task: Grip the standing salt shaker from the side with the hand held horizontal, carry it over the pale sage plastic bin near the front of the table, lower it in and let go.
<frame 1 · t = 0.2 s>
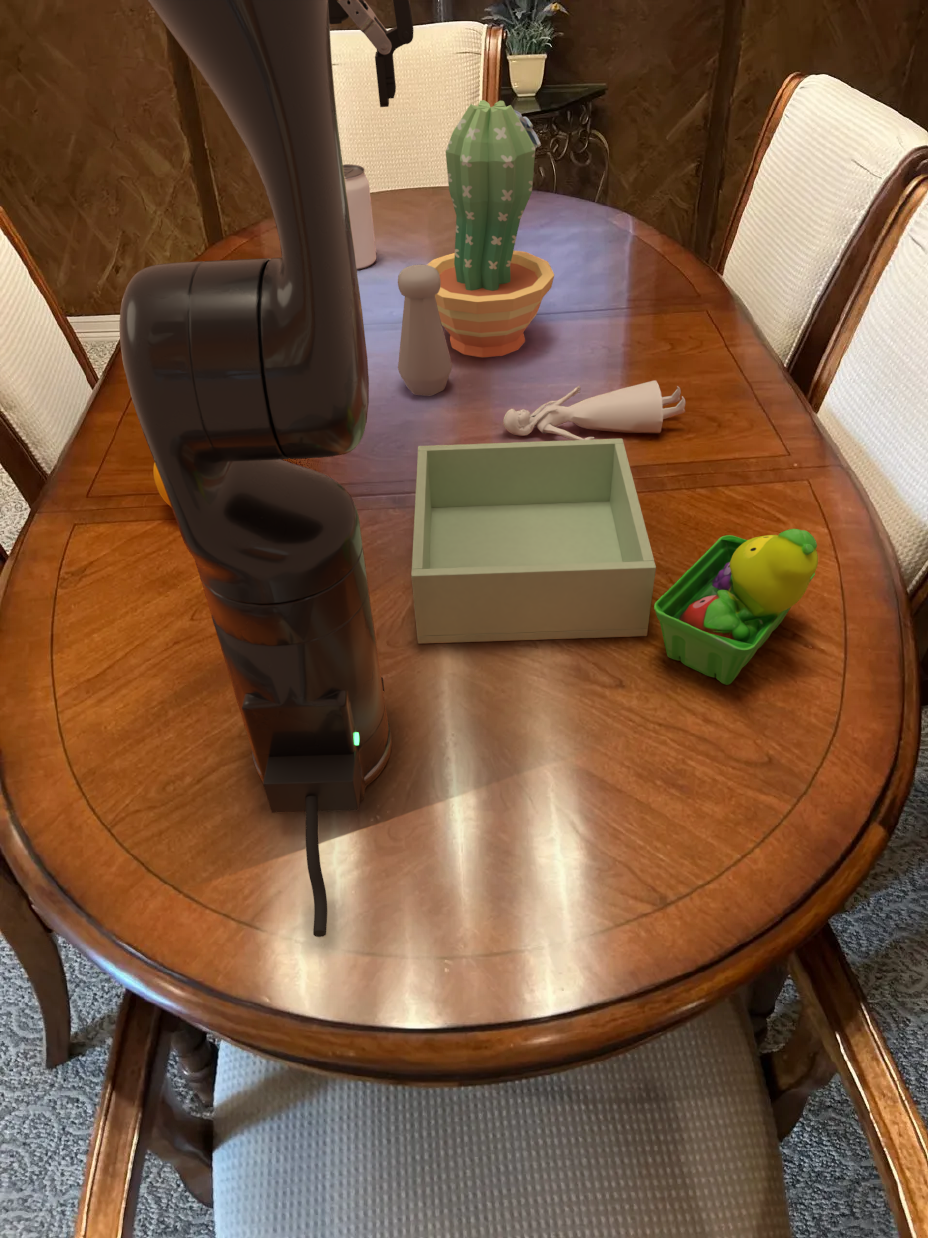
hand: (334, 108, 77), 29 cm above the table, tool pointing down, fingers open, 8 cm apart
apple: (208, 505, 86), on the table
woman figurine: (591, 429, 93), on the table
fruit basket: (731, 643, 69), on the table
can: (354, 263, 128), on the table
potted cactus: (487, 341, 109), on the table
bin: (525, 567, 77), on the table
salt shaker: (426, 388, 101), on the table
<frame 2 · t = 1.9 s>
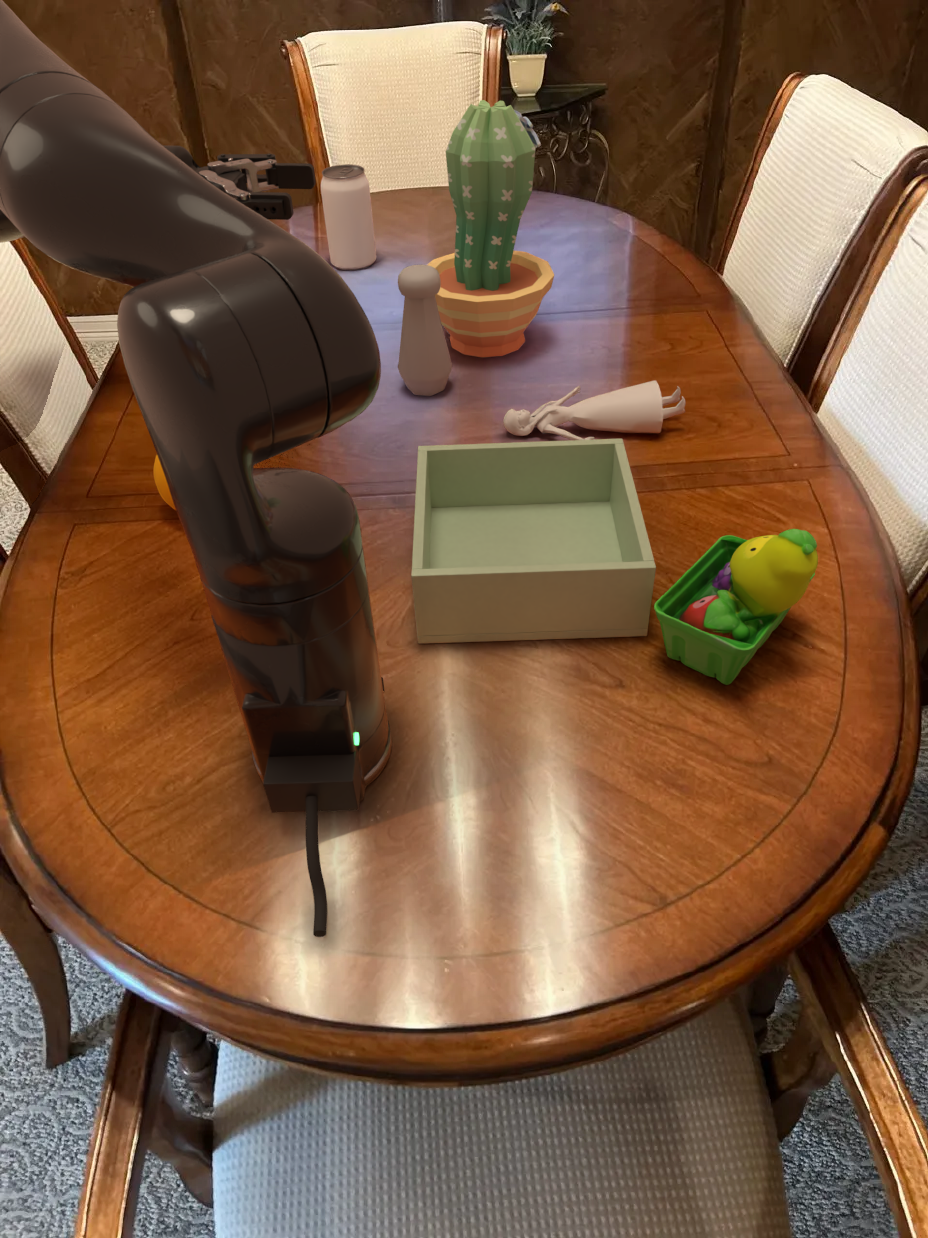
hand: (303, 190, 88), 20 cm above the table, tool horizontal, fingers open, 8 cm apart
nothing on the table moved.
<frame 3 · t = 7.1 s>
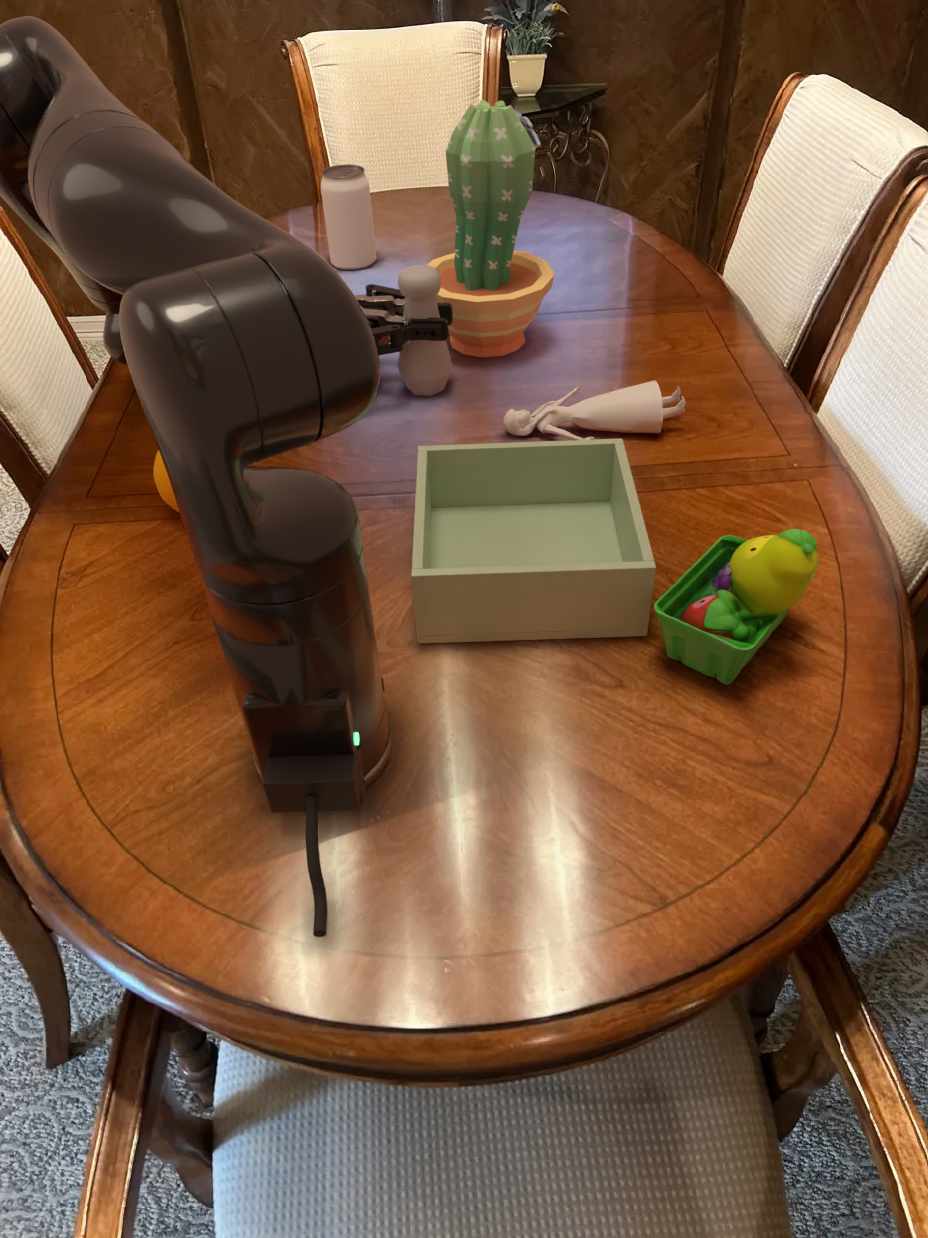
hand: (449, 321, 95), 8 cm above the table, tool horizontal, fingers closed on salt shaker, 3 cm apart
salt shaker: (426, 388, 101), on the table, touching gripper
everything else where it was.
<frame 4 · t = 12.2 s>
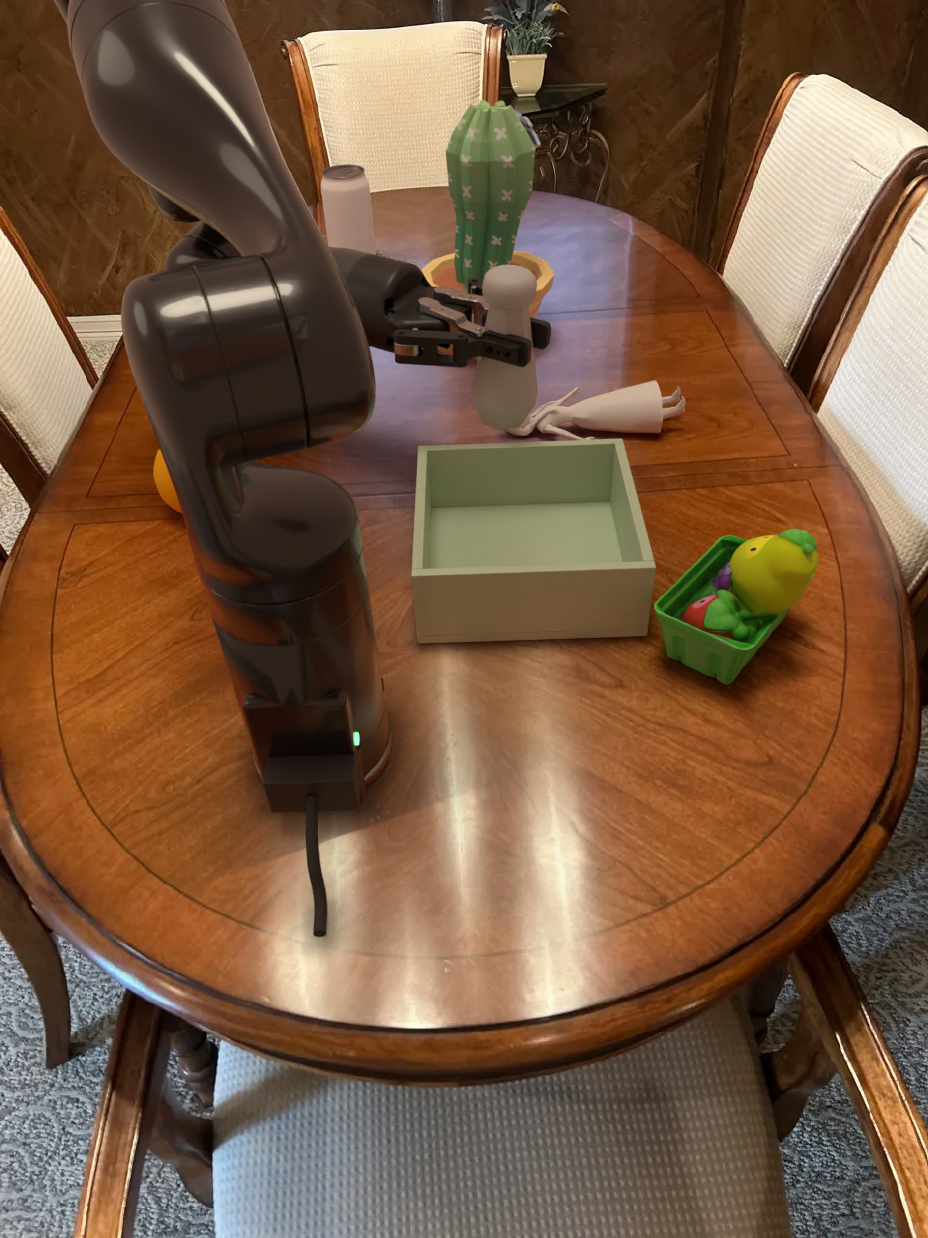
hand: (538, 344, 74), 15 cm above the table, tool horizontal, fingers closed on salt shaker, 3 cm apart
salt shaker: (502, 419, 80), point 7 cm above the table, touching gripper
everything else where it was.
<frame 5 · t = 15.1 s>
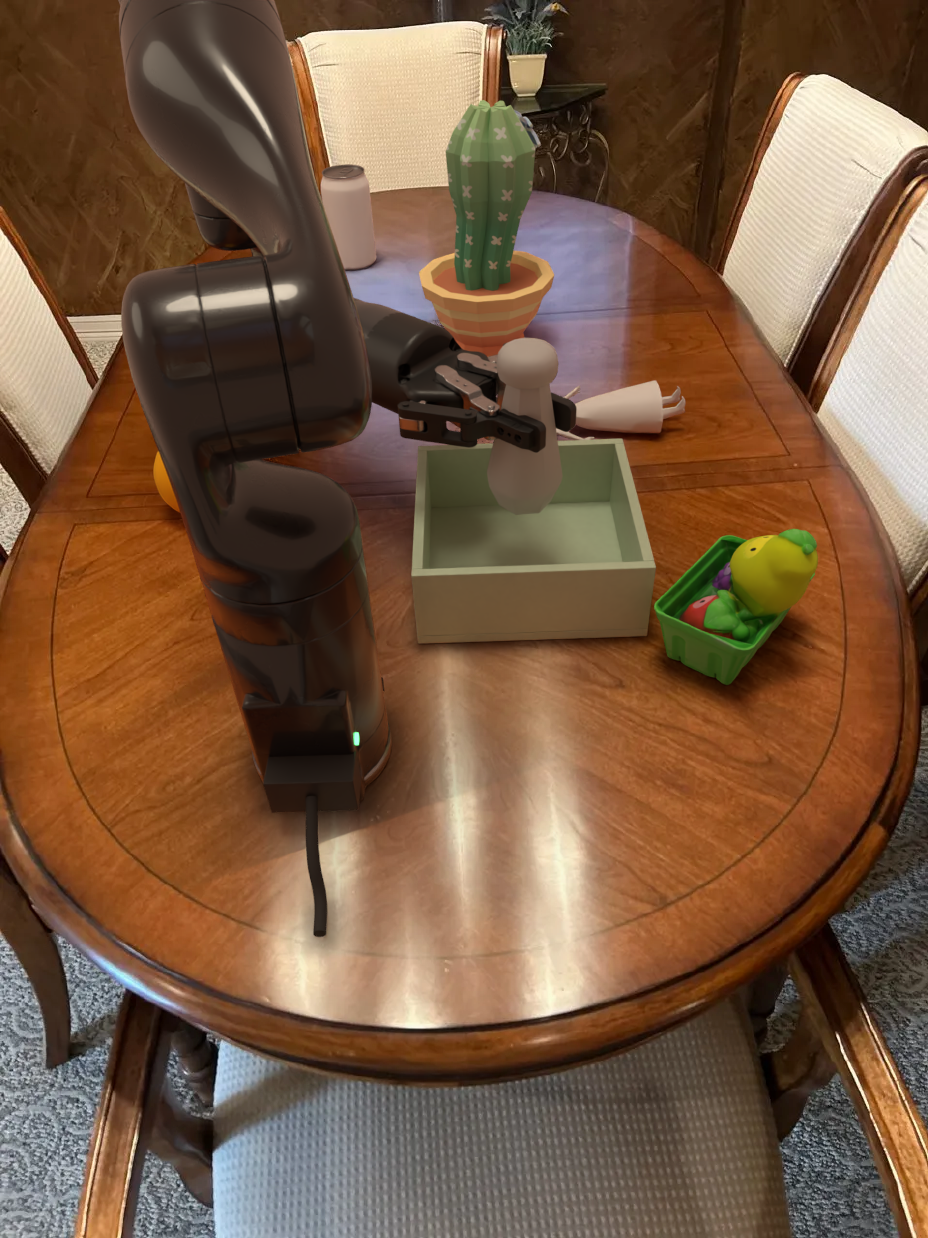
hand: (557, 428, 66), 14 cm above the table, tool horizontal, fingers closed on salt shaker, 3 cm apart
salt shaker: (523, 502, 72), point 7 cm above the table, touching gripper
everything else where it was.
when the fingers open (8 cm above the table, at t = 17.2 s): salt shaker stays where it is, resting on bin.
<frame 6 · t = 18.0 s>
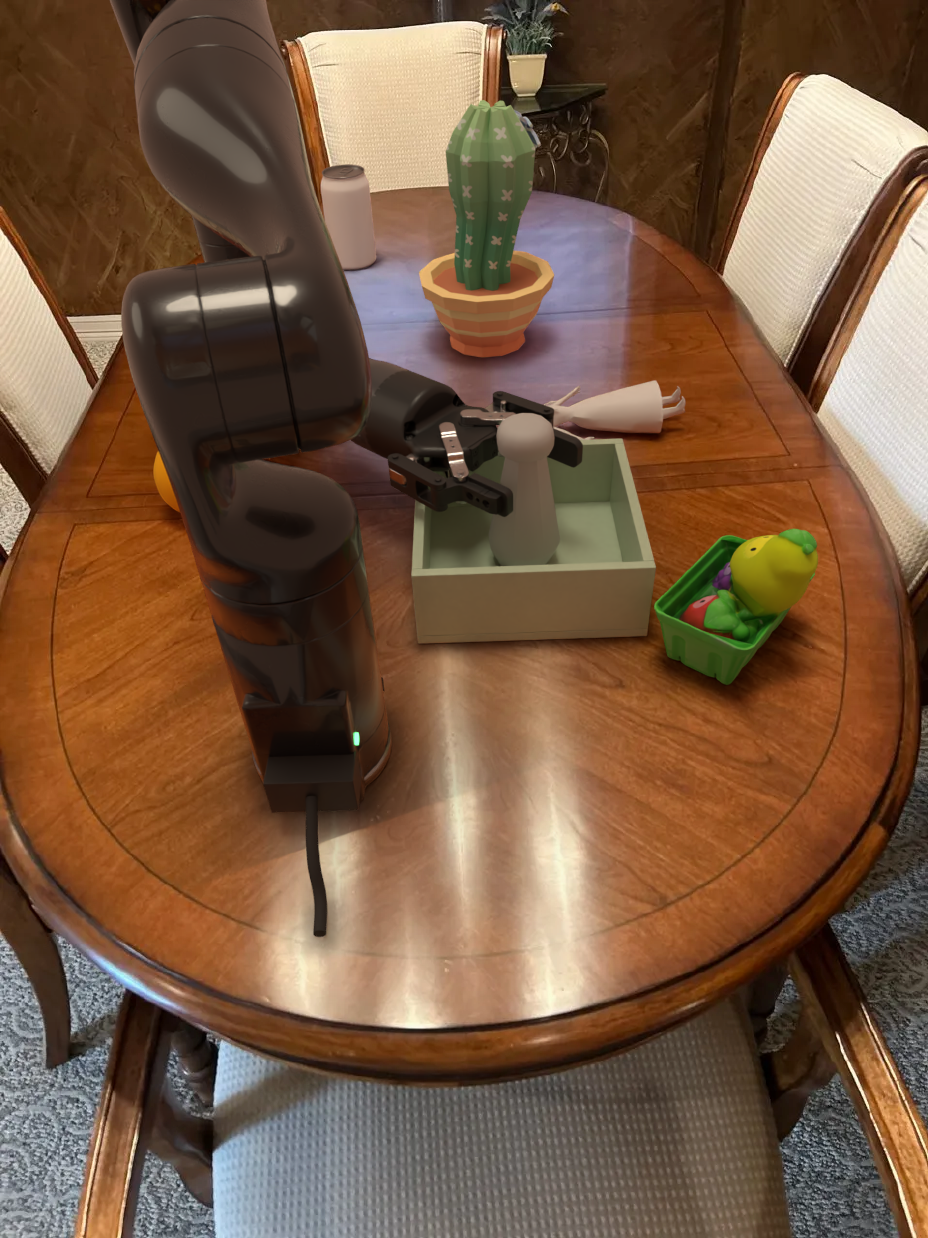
hand: (546, 479, 69), 10 cm above the table, tool horizontal, fingers open, 8 cm apart
salt shaker: (523, 562, 76), point 1 cm above the table, touching bin
everything else where it was.
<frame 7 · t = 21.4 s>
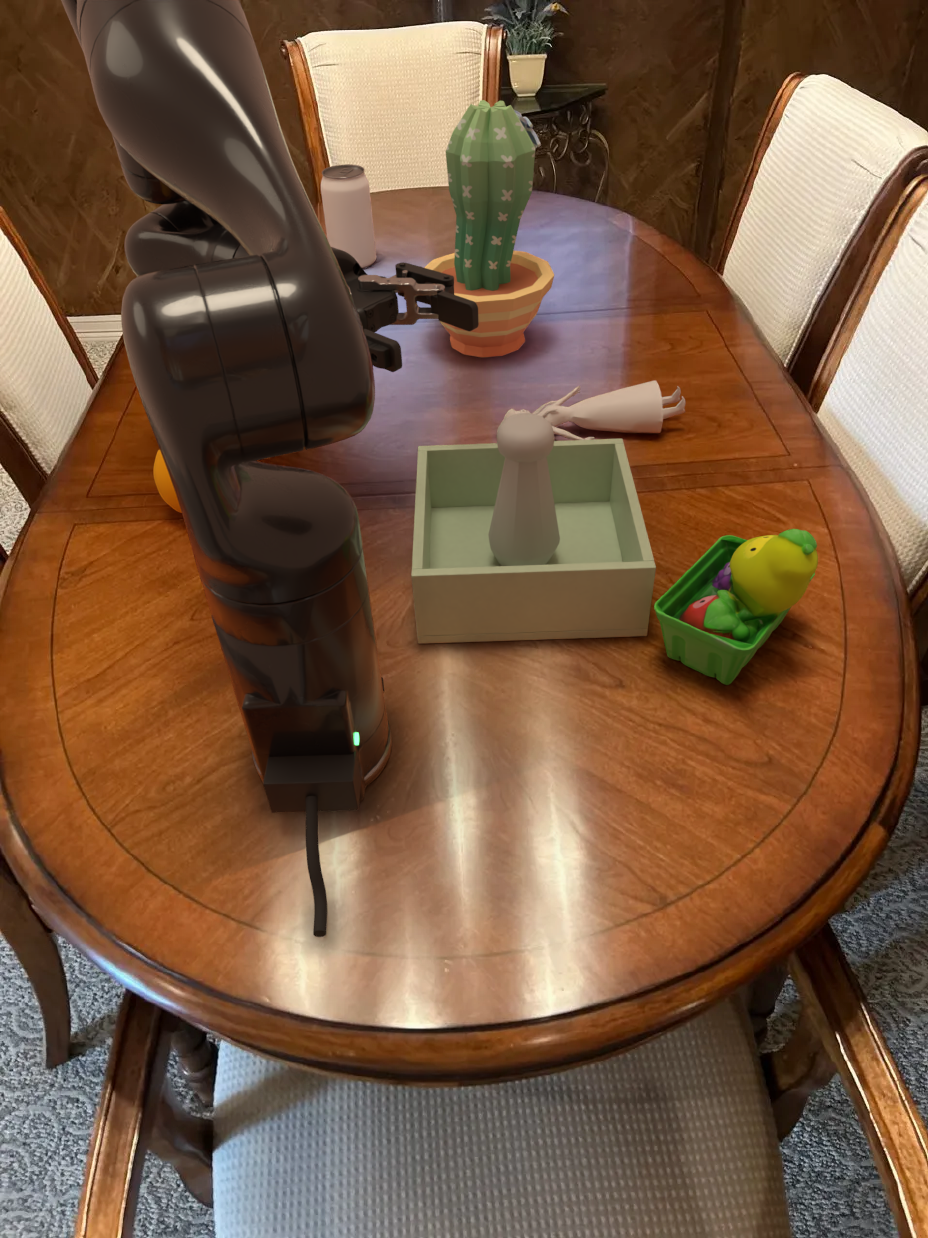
hand: (438, 337, 69), 18 cm above the table, tool horizontal, fingers open, 8 cm apart
nothing on the table moved.
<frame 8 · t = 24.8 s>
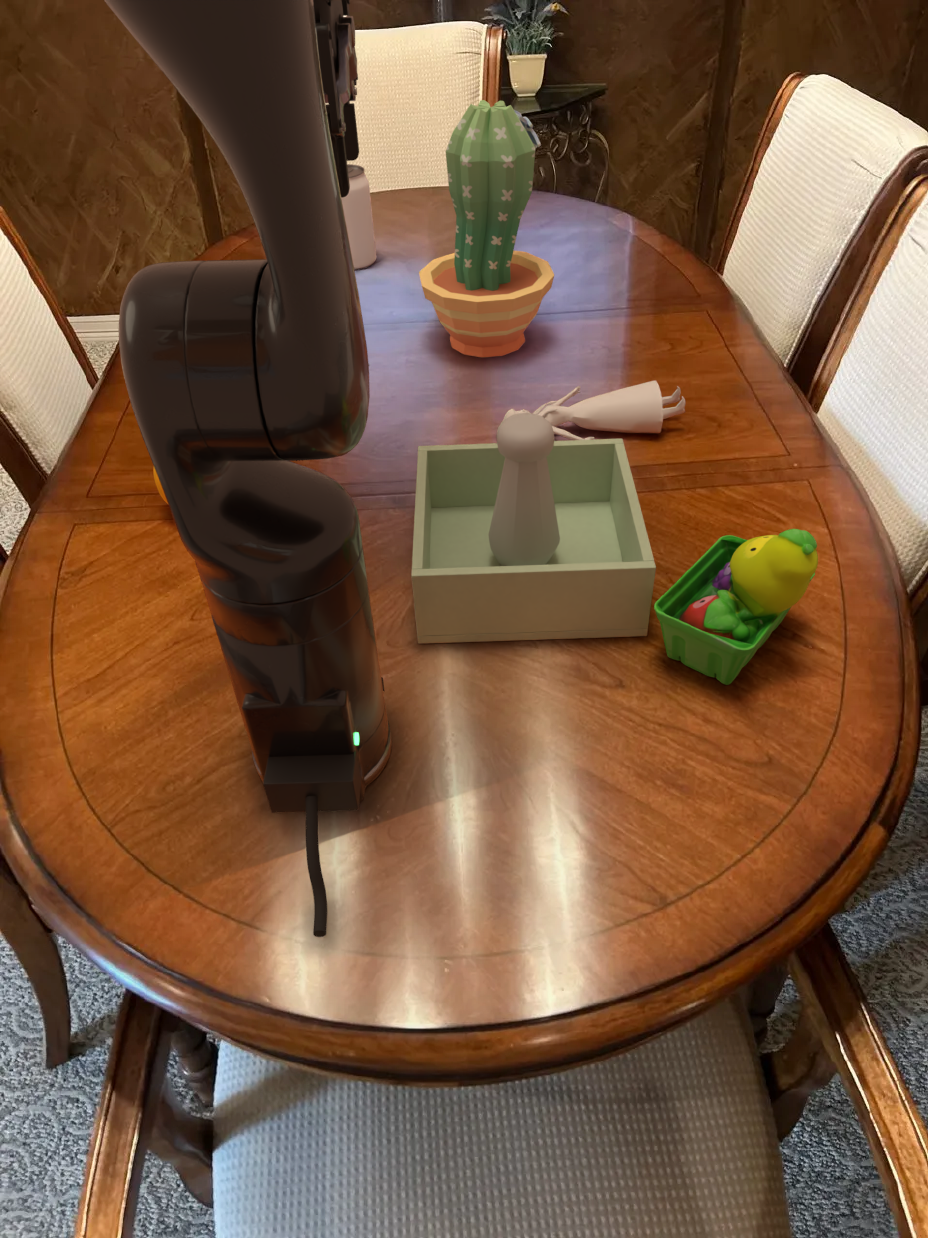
hand: (340, 176, 66), 28 cm above the table, tool pointing down, fingers open, 8 cm apart
nothing on the table moved.
at the end: salt shaker inside the target area in the bin (0.1 cm from its centre), point 0.6 cm above the bin's base; the gripper is holding nothing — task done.
